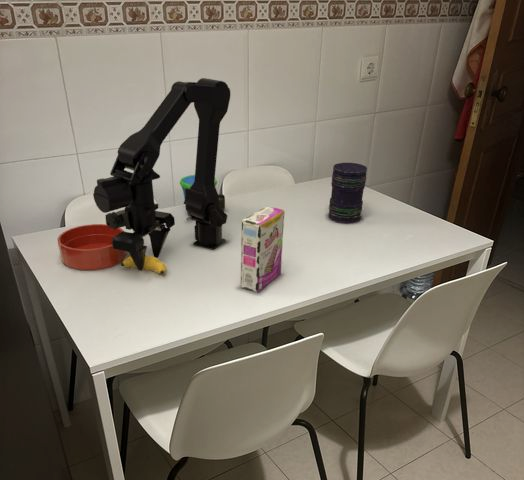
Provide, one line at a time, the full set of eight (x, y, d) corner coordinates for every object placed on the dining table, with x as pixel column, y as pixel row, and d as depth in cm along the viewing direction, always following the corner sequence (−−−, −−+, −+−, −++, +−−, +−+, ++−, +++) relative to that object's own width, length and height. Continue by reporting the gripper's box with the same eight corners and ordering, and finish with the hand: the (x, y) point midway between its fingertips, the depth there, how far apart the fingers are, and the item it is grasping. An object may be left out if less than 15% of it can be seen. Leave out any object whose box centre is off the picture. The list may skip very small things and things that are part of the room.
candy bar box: (258, 293, 119) (260, 225, 110) (240, 288, 121) (239, 220, 112) (282, 274, 127) (285, 209, 117) (264, 269, 129) (266, 204, 119)
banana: (173, 266, 128) (169, 256, 125) (165, 280, 126) (161, 271, 123) (130, 257, 131) (126, 248, 128) (122, 271, 129) (117, 262, 126)
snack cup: (175, 207, 163) (172, 174, 157) (206, 202, 167) (205, 170, 161) (192, 224, 152) (190, 189, 146) (225, 219, 156) (225, 185, 150)
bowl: (141, 251, 136) (138, 231, 133) (99, 276, 124) (95, 255, 121) (92, 239, 142) (88, 219, 139) (47, 262, 130) (42, 241, 127)
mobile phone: (220, 192, 161) (181, 202, 151) (227, 194, 159) (188, 204, 150) (220, 208, 163) (182, 218, 154) (227, 210, 162) (189, 221, 153)
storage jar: (366, 216, 160) (373, 166, 152) (352, 226, 153) (359, 174, 145) (336, 209, 164) (341, 160, 156) (322, 218, 158) (326, 168, 149)
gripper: (133, 184, 128) (140, 244, 137) (86, 209, 114) (97, 273, 123) (173, 190, 125) (178, 251, 134) (130, 217, 111) (138, 282, 120)
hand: (148, 263), depth 128 cm, fingers open, 7 cm apart
